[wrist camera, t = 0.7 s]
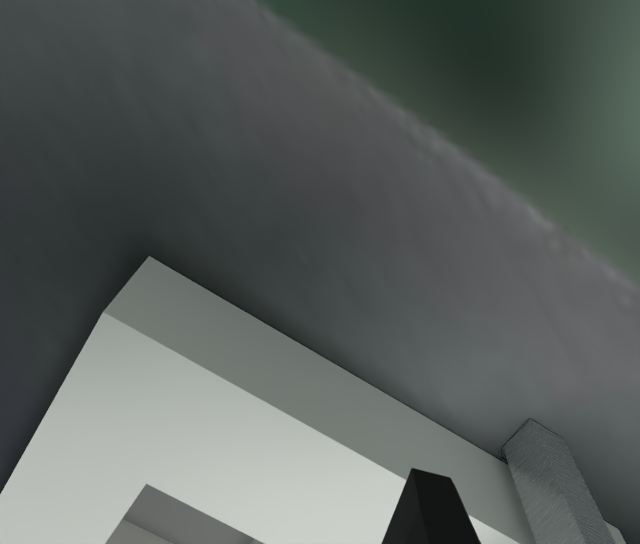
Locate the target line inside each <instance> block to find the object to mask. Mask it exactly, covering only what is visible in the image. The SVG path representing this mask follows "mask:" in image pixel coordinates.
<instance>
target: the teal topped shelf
mask: <svg viewBox="0 0 640 544" xmlns="http://www.w3.org/2000/svg"><path fill="white" fill-rule="evenodd" d="M503 450H504V453H505V456H506V459H507V462H508V464H509V467H510V470H511V473H512V476H513V479H514V481H515V484H516V487H517V490H518V493H519V496H520V498H521V501H522V504H523V507H524V510H525V513H526V516H527V518H528V521H529V524H530V527H531V530H532V533H533V535H534V538H535V541H536V544H616V543H615V541H614V539H613V537H612V535H611V533H610V531H609V529H608V527H607V525H606V523H605V521H604V519H603V517H602V515H601V513H600V511H599V509H598V507H597V505H596V503H595V501H594V499H593V497H592V495H591V493H590V491H589V489H588V487H587V485H586V483H585V481H584V479H583V477H582V475H581V473H580V471H579V469H578V467H577V465H576V463H575V461H574V459H573V457H572V455H571V453H570V451H569V449H568V447H567V445H566V443H565V441H564V439H563V438H561V437H560V436H558V435H556V434H555V433H553V432H551V431H550V430H548V429H546V428H545V427H543V426H541V425H540V424H538V423H536V422H535V421H533V420H531V419H529V420H528V421H527V422H526V423H525V424H524V426H523V427H522V428H521V429H520V430H519V431H518V432H517V433H516V434H515V435H514V436H513V437H512V438H511V439H510V440H509V441H508V442H507V443H506V444H505V445H504V446H503Z"/></svg>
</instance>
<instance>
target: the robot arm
mask: <svg viewBox="0 0 640 544" xmlns="http://www.w3.org/2000/svg"><path fill="white" fill-rule="evenodd" d="M382 544H481V542H480V540H479V538H478V536H477V533H476V531H475V529H474V527H473V525H472V523H471V520H470V518H469V516H468V514H467V511H466V509H465V507H464V505H463V502H462V500H461V498H460V496H459V493H458V491H457V489H456V487H455V484H454V483H453V481H452V479H451V478H450V477H446V476H443V475H439V474H435V473H431V472H427V471H423V470H419V469H415V468H411V470H410V473H409V476H408V478H407V481H406V483H405V486H404V488H403V491H402V493H401V496H400V498H399V501H398V503H397V506H396V508H395V511H394V513H393V516H392V518H391V521H390V523H389V526H388V528H387V531H386V533H385V536H384V538H383V541H382Z"/></svg>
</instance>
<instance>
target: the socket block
mask: <svg viewBox="0 0 640 544" xmlns="http://www.w3.org/2000/svg"><path fill="white" fill-rule="evenodd" d="M411 468H415V469H419V470H423V471H427V472H431V473H435V474H439V475H443V476H446V477H450V478H451V479H452V481H453V483H454V484H455V487H456V489H457V491H458V493H459V496H460V498H461V500H462V502H463V505H464V507H465V509H466V511H467V514H468V516H469V518H470V520H471V523H472V525H473V527H474V529H475V531H476V533H477V536H478V538H479V540H480V542H481V544H536V541H535V538H534V535H533V533H532V530H531V527H530V524H529V521H528V518H527V516H526V513H525V510H524V507H523V504H522V501H521V498H520V496H519V493H518V490H517V487H516V484H515V481H514V479H513V476H512V473H511V470H510V467H509V465H507V464H506V463H504V462H502V461H501V460H499V459H497V458H495V457H494V456H492V455H490V454H489V453H487V452H485V451H483V450H482V449H480V448H478V447H477V446H475V445H473V444H471V443H470V442H468V441H466V440H464V439H463V438H461V437H459V436H458V435H456V434H454V433H452V432H451V431H449V430H447V429H446V428H444V427H442V426H440V425H439V424H437V423H435V422H434V421H432V420H430V419H428V418H427V417H425V416H423V415H422V414H420V413H418V412H416V411H415V410H413V409H411V408H410V407H408V406H406V405H404V404H403V403H401V402H399V401H398V400H396V399H394V398H392V397H391V396H389V395H387V394H385V393H384V392H382V391H380V390H379V389H377V388H375V387H373V386H372V385H370V384H368V383H367V382H365V381H363V380H361V379H360V378H358V377H356V376H355V375H353V374H351V373H349V372H348V371H346V370H344V369H343V368H341V367H339V366H337V365H336V364H334V363H332V362H331V361H329V360H327V359H325V358H324V357H322V356H320V355H319V354H317V353H315V352H313V351H312V350H310V349H308V348H306V347H305V346H303V345H301V344H300V343H298V342H296V341H294V340H293V339H291V338H289V337H288V336H286V335H284V334H282V333H281V332H279V331H277V330H276V329H274V328H272V327H270V326H269V325H267V324H265V323H264V322H262V321H260V320H258V319H257V318H255V317H253V316H252V315H250V314H248V313H246V312H245V311H243V310H241V309H239V308H238V307H236V306H234V305H233V304H231V303H229V302H227V301H226V300H224V299H222V298H221V297H219V296H217V295H215V294H214V293H212V292H210V291H209V290H207V289H205V288H203V287H202V286H200V285H198V284H197V283H195V282H193V281H191V280H190V279H188V278H186V277H185V276H183V275H181V274H179V273H178V272H176V271H174V270H173V269H171V268H169V267H167V266H166V265H164V264H162V263H160V262H159V261H157V260H155V259H154V258H152V257H150V256H149V257H148V258H147V259H146V260H145V262H144V263H143V264H142V265H141V266H140V268H139V269H138V270H137V271H136V272H135V274H134V275H133V276H132V277H131V279H130V280H129V281H128V282H127V283H126V285H125V286H124V287H123V288H122V290H121V291H120V292H119V293H118V294H117V296H116V297H115V298H114V299H113V300H112V302H111V303H110V304H109V305H108V307H107V308H106V309H105V310H104V311H103V313H102V315H101V317H100V318H99V320H98V322H97V324H96V325H95V327H94V329H93V331H92V333H91V334H90V336H89V338H88V340H87V341H86V343H85V345H84V347H83V349H82V350H81V352H80V354H79V356H78V357H77V359H76V361H75V363H74V365H73V366H72V368H71V370H70V372H69V373H68V375H67V377H66V379H65V381H64V382H63V384H62V386H61V388H60V389H59V391H58V393H57V395H56V397H55V398H54V400H53V402H52V404H51V405H50V407H49V409H48V411H47V413H46V414H45V416H44V418H43V420H42V421H41V423H40V425H39V427H38V429H37V430H36V432H35V434H34V436H33V437H32V439H31V441H30V443H29V445H28V446H27V448H26V450H25V452H24V453H23V455H22V457H21V459H20V461H19V462H18V464H17V466H16V468H15V469H14V471H13V473H12V475H11V477H10V478H9V480H8V482H7V484H6V485H5V487H4V489H3V491H2V493H1V494H0V544H382V541H383V538H384V536H385V533H386V531H387V528H388V526H389V523H390V521H391V518H392V516H393V513H394V511H395V508H396V506H397V503H398V501H399V498H400V496H401V493H402V491H403V488H404V486H405V483H406V481H407V478H408V476H409V473H410V470H411ZM605 523H606V525H607V527H608V529H609V531H610V533H611V535H612V537H613V539H614V541H615V543H616V544H626V542H625V541H624V539H623V537H622V535H621V533H620V531H619V529H617V528H616V527H614V526H612V525H610V524H609V523H607V522H605Z"/></svg>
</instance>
